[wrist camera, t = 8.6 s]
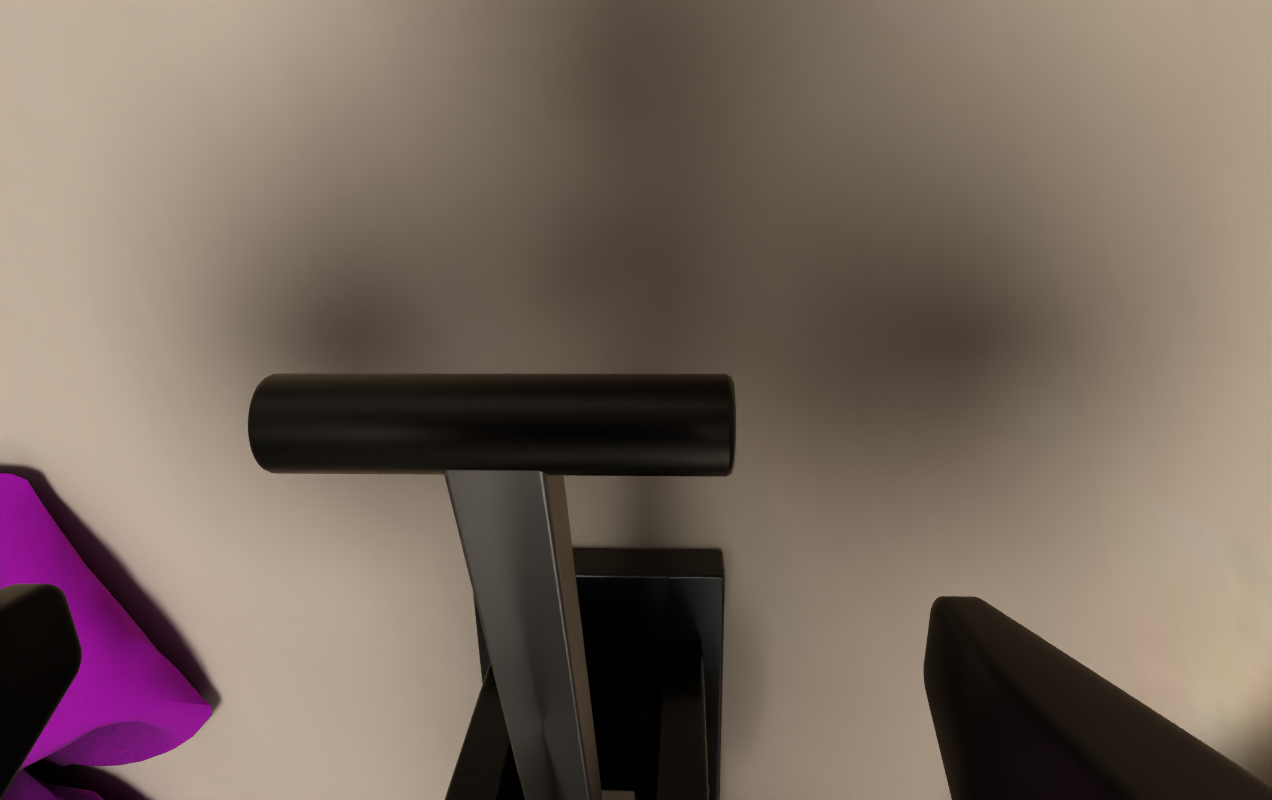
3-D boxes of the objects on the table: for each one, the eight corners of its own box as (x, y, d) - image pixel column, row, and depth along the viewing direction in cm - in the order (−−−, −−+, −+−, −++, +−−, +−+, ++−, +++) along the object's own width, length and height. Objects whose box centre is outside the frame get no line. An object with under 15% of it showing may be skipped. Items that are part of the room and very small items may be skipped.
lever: (295, 319, 10) (204, 464, 8) (729, 319, 9) (741, 467, 8) (477, 845, 18) (455, 971, 17) (704, 852, 18) (707, 981, 16)
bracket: (481, 546, 21) (374, 795, 14) (722, 549, 21) (746, 805, 13) (504, 792, 24) (427, 1107, 16) (717, 798, 23) (733, 1121, 16)
